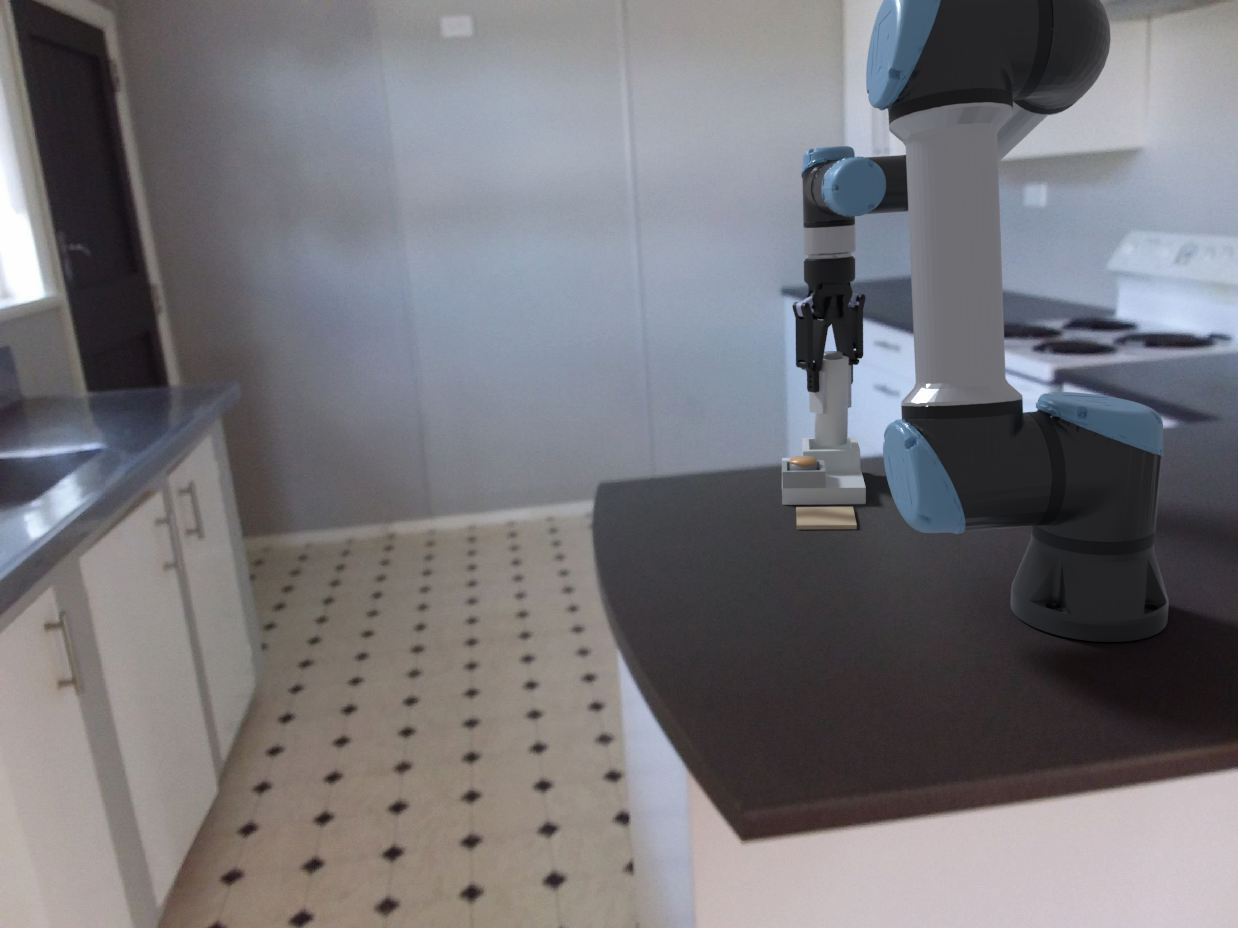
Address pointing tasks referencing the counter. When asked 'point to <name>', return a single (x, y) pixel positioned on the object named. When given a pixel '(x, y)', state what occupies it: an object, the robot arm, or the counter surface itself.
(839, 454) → the housing
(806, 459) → the tan dome
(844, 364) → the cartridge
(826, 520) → the coaster
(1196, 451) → the counter surface
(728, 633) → the counter surface
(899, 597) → the counter surface
